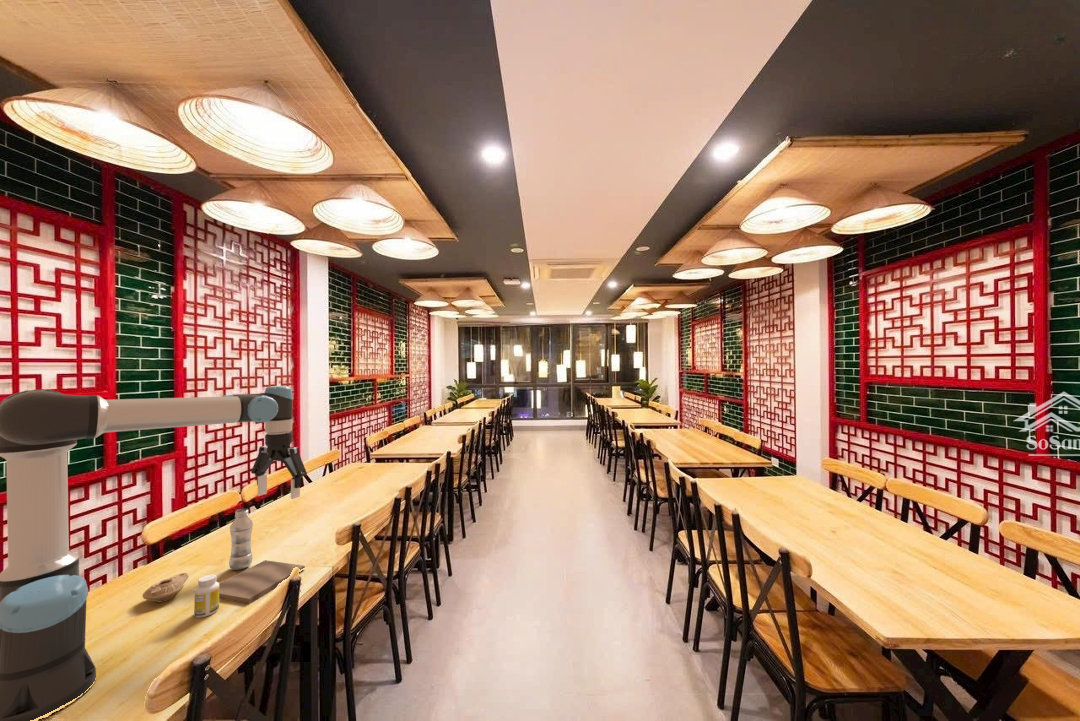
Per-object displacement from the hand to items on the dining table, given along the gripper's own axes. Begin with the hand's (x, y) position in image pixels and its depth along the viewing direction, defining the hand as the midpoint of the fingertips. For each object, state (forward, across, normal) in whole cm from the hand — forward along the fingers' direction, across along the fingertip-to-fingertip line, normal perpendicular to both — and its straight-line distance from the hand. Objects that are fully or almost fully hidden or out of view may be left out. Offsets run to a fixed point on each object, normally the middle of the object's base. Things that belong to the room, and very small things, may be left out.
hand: (278, 496), depth 128 cm
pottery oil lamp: (+27, +24, +15) cm, 40 cm away
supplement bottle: (+27, +4, +19) cm, 34 cm away
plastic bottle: (+28, +19, -3) cm, 34 cm away
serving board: (+27, +5, +3) cm, 28 cm away
